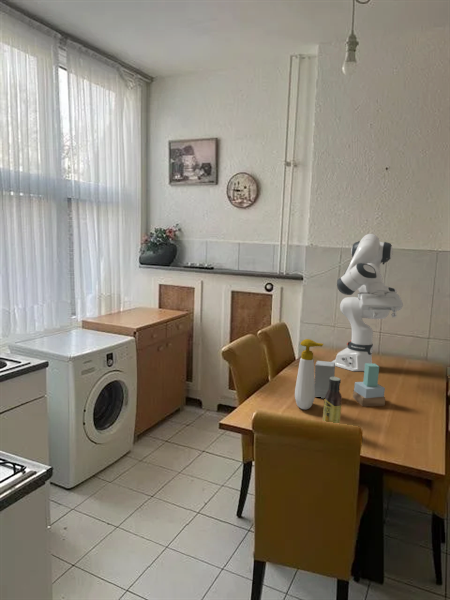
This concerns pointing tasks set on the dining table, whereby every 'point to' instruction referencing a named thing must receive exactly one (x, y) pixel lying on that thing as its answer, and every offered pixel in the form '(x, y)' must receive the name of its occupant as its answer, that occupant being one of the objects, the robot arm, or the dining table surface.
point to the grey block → (369, 390)
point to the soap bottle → (306, 376)
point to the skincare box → (323, 377)
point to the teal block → (371, 375)
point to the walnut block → (369, 400)
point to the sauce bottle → (332, 401)
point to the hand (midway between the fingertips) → (384, 316)
